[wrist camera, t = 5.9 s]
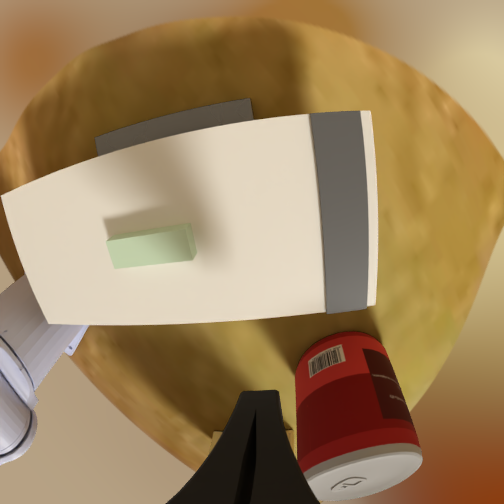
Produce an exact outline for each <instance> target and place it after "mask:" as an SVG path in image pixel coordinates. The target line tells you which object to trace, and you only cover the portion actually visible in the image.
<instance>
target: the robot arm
mask: <svg viewBox="0 0 504 504" xmlns="http://www.w3.org/2000/svg"><path fill="white" fill-rule="evenodd" d="M88 327H89V325H67V324H48V322H47V320H46V318H45V316H44V314H43V312H42V310H41V307H40V305H39V303H38V301H37V299H36V297H35V294H34V292H33V290H32V287H31V285H30V283H29V280H28V278H27V275H26V273H24V275H23V276H22V277H20V278H19V279H18V280H17V281H15V282H14V283H13V284H12V285H10V286H9V287H8V288H7V289H6V290H4V291H3V292H2V293H1V294H0V465H2V464H4V463H6V462H9V461H12V460H15V459H16V458H19V457H20V456H21V455H23V454H24V453H25V452H26V451H27V450H28V449H29V447H30V446H31V444H32V442H33V440H34V437H35V434H36V430H37V417H36V414H35V411H34V410H33V409H34V407H35V406H36V404H37V402H38V401H39V400H38V399H37V397H36V396H35V394H34V392H35V390H36V389H37V387H38V386H39V384H40V383H41V382H42V380H43V379H44V377H45V376H46V375H47V373H48V372H49V370H50V369H51V368H52V367H53V365H54V364H55V363H56V361H57V360H58V359H59V357H60V356H61V355H62V353H63V352H65V353H67V354H68V355H72V354H73V353H74V351H75V349H76V348H77V346H78V344H79V342H80V341H81V339H82V337H83V335H84V333H85V332H86V330H87V328H88ZM166 504H320V503H319V501H318V499H317V498H316V496H315V495H314V493H313V491H312V489H311V488H310V486H309V484H308V482H307V480H306V478H305V476H304V474H303V473H302V471H301V468H300V466H299V464H298V462H297V460H296V457H295V455H294V453H293V450H292V448H291V445H290V442H289V439H288V436H287V433H286V430H285V427H284V424H283V416H282V409H281V403H280V396H279V391H277V390H263V391H243V392H241V393H240V396H239V399H238V401H237V404H236V406H235V409H234V411H233V413H232V415H231V417H230V419H229V421H228V423H227V425H226V427H225V429H224V431H223V433H222V434H221V436H220V438H219V440H218V441H217V443H216V444H215V446H214V448H213V449H212V451H211V452H210V454H209V455H208V457H207V458H206V460H205V461H204V462H203V464H202V465H201V466H200V468H199V469H198V470H197V472H196V473H195V474H194V475H193V476H192V478H191V479H190V480H189V481H188V482H187V483H186V484H185V486H184V487H183V488H182V489H181V490H180V491H179V492H178V493H177V494H176V495H175V496H174V497H173V498H171V499H170V500H169V501H168V502H167V503H166Z"/></svg>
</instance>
